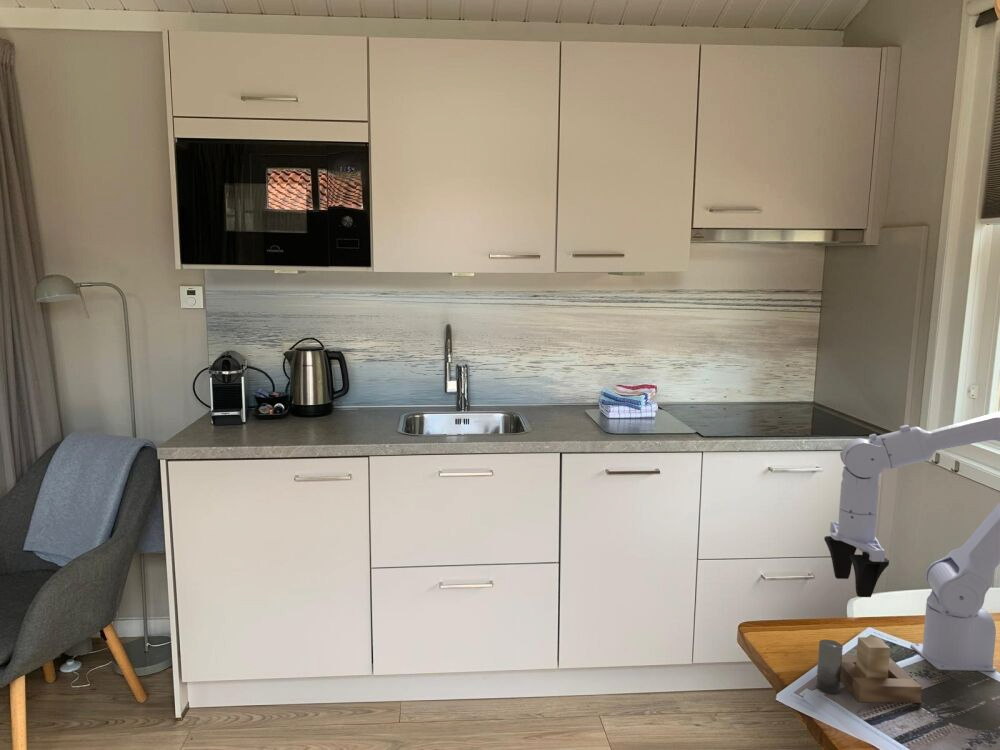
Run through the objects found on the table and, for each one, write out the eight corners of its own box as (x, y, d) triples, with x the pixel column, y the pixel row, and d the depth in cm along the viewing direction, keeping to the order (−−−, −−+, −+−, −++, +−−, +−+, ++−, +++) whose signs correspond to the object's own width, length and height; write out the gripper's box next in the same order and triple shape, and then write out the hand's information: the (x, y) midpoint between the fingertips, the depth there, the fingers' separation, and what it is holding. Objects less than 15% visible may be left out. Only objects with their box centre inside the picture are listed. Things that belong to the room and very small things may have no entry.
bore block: (886, 670, 112) (888, 655, 111) (920, 703, 103) (921, 686, 102) (830, 669, 112) (831, 654, 111) (859, 701, 103) (860, 685, 102)
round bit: (833, 682, 108) (836, 639, 107) (843, 694, 105) (846, 650, 104) (812, 682, 108) (815, 639, 107) (821, 694, 105) (825, 649, 104)
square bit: (875, 680, 109) (878, 637, 108) (886, 691, 106) (890, 647, 105) (854, 680, 109) (858, 637, 108) (865, 691, 105) (868, 647, 105)
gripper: (815, 497, 126) (810, 570, 127) (856, 523, 111) (850, 604, 113) (854, 498, 126) (849, 570, 127) (900, 523, 111) (893, 605, 113)
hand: (852, 586), depth 120 cm, fingers open, 7 cm apart
